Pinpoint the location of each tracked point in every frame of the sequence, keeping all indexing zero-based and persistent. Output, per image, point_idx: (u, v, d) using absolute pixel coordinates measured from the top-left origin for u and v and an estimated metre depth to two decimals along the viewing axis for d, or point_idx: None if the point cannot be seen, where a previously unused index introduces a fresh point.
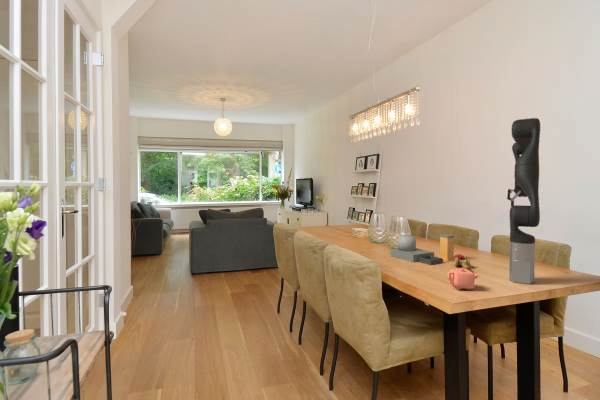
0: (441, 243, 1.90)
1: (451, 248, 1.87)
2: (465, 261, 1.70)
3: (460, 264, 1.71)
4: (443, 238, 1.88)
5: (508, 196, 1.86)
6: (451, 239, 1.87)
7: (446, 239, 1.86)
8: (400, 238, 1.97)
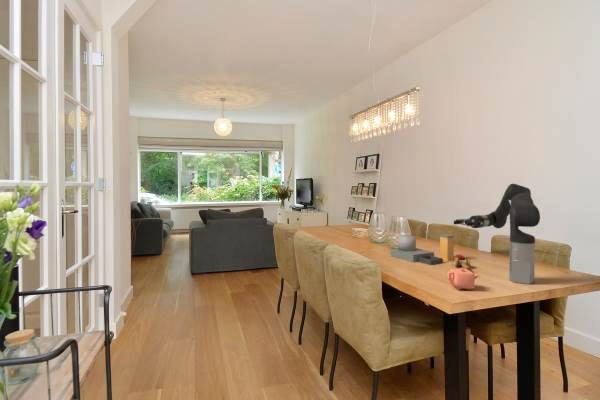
0: (441, 243, 1.90)
1: (451, 248, 1.87)
2: (465, 261, 1.70)
3: (460, 264, 1.71)
4: (443, 238, 1.88)
5: (458, 219, 2.02)
6: (451, 239, 1.87)
7: (446, 239, 1.86)
8: (400, 238, 1.97)
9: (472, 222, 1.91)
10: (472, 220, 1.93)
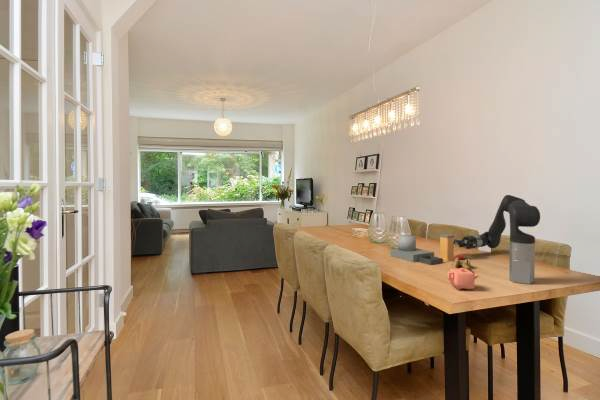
0: (441, 243, 1.90)
1: (451, 248, 1.87)
2: (465, 261, 1.70)
3: (460, 264, 1.70)
4: (443, 238, 1.88)
5: None
6: (451, 239, 1.87)
7: (446, 239, 1.86)
8: (400, 238, 1.97)
9: (465, 243, 1.89)
10: (465, 241, 1.91)
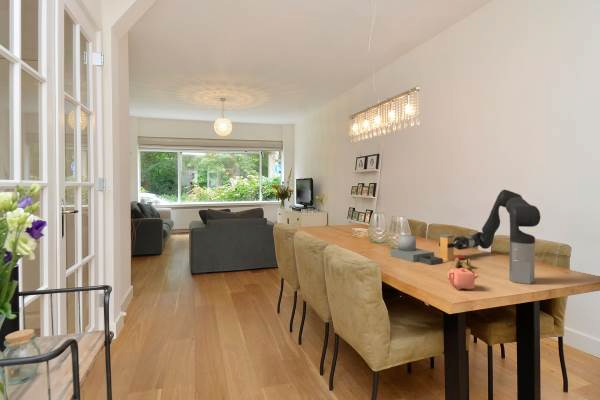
0: (441, 243, 1.90)
1: (451, 248, 1.87)
2: (465, 261, 1.69)
3: (460, 264, 1.70)
4: (443, 238, 1.88)
5: None
6: (451, 239, 1.87)
7: (446, 239, 1.86)
8: (400, 238, 1.97)
9: None
10: (454, 242, 1.89)
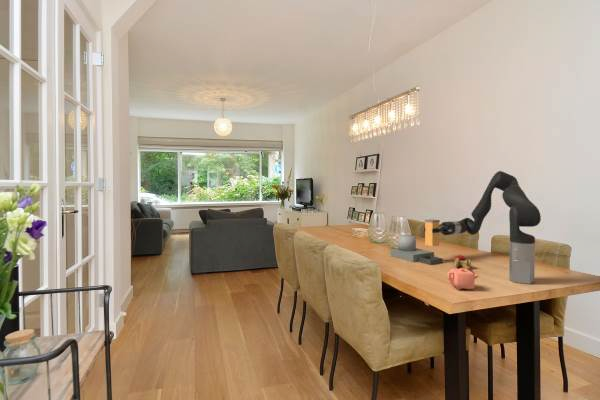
0: (426, 228, 1.84)
1: (436, 233, 1.82)
2: (466, 262, 1.69)
3: (461, 265, 1.70)
4: (428, 223, 1.83)
5: None
6: (436, 224, 1.82)
7: (431, 224, 1.81)
8: (400, 238, 1.97)
9: None
10: (440, 227, 1.83)
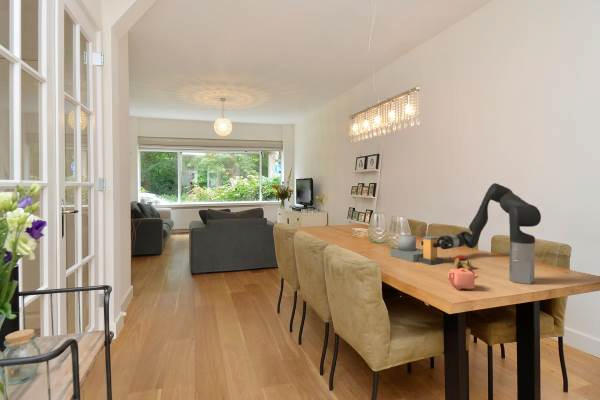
0: (424, 245, 1.84)
1: (434, 250, 1.82)
2: (466, 262, 1.68)
3: (461, 265, 1.69)
4: (426, 240, 1.82)
5: None
6: (434, 241, 1.81)
7: (429, 241, 1.81)
8: (400, 238, 1.97)
9: (439, 243, 1.80)
10: (440, 241, 1.82)
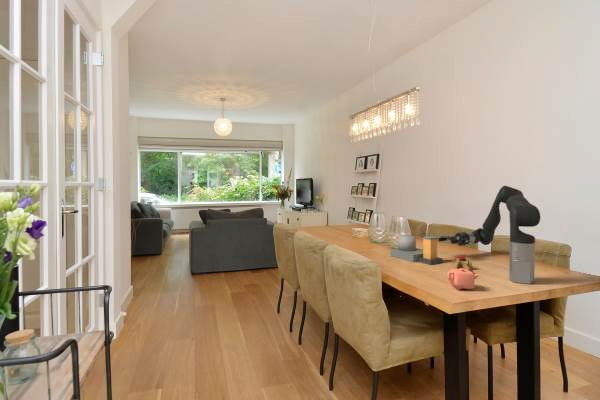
0: (424, 245, 1.84)
1: (434, 250, 1.82)
2: (466, 262, 1.68)
3: (461, 265, 1.68)
4: (426, 240, 1.82)
5: (443, 236, 1.97)
6: (434, 241, 1.81)
7: (429, 241, 1.81)
8: (400, 238, 1.97)
9: None
10: (457, 237, 1.88)
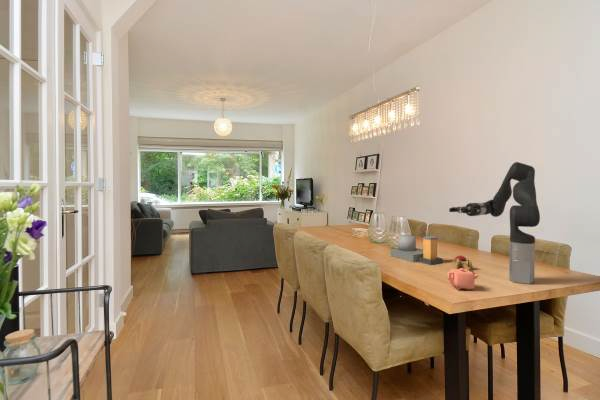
0: (424, 245, 1.84)
1: (434, 250, 1.82)
2: (467, 262, 1.67)
3: (462, 266, 1.68)
4: (426, 240, 1.82)
5: (454, 207, 1.95)
6: (434, 241, 1.81)
7: (429, 241, 1.81)
8: (400, 238, 1.97)
9: (468, 209, 1.84)
10: (468, 207, 1.86)
